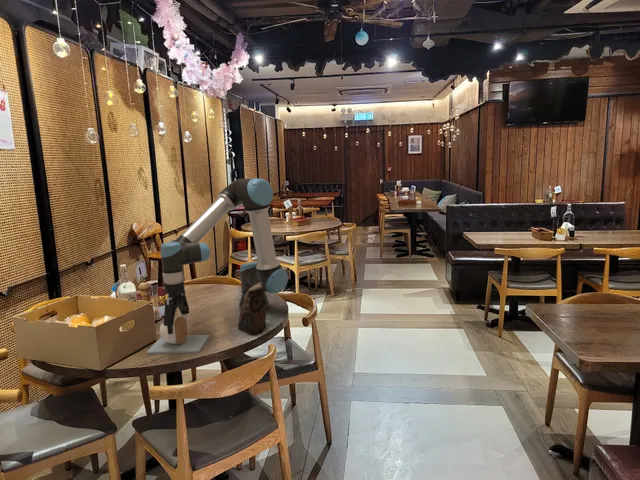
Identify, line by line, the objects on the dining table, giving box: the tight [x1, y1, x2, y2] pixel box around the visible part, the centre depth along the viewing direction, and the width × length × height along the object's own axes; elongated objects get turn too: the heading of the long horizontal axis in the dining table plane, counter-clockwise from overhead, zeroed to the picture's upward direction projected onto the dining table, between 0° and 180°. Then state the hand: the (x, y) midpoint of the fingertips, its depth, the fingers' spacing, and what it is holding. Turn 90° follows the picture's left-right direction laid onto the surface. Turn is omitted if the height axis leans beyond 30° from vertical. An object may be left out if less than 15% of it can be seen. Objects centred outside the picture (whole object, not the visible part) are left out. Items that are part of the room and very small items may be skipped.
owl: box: [237, 282, 267, 336], centre depth 187 cm, size 13×13×20 cm
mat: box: [146, 334, 210, 355], centre depth 176 cm, size 20×16×1 cm
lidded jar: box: [159, 316, 188, 344], centre depth 175 cm, size 11×11×9 cm
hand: (178, 335), depth 175 cm, fingers open, 11 cm apart
